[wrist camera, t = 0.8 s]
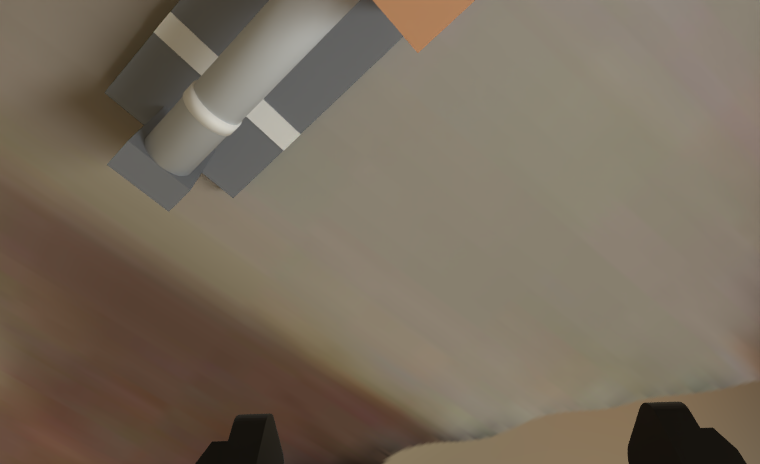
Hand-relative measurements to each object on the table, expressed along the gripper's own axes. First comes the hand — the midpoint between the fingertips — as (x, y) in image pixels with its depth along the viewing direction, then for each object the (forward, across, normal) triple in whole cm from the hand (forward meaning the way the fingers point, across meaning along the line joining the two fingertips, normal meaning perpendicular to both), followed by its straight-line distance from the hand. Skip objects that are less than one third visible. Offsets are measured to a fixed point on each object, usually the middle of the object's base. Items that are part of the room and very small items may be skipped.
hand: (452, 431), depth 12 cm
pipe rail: (+26, +6, -5) cm, 27 cm away
